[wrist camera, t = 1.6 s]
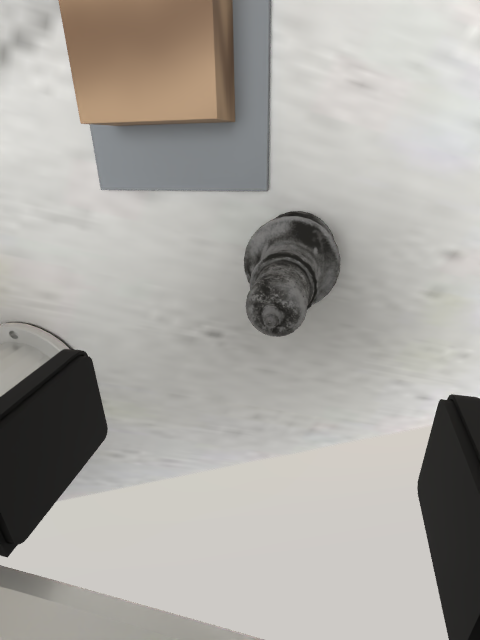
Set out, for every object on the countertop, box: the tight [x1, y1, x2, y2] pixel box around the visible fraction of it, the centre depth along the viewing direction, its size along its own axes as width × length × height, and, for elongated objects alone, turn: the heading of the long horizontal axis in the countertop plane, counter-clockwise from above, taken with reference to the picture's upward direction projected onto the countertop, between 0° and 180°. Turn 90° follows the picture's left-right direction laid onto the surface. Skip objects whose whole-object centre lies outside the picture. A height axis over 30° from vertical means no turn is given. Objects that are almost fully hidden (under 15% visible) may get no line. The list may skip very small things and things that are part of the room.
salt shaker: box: [244, 211, 340, 336], centre depth 21 cm, size 6×6×12 cm
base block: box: [59, 0, 235, 126], centre depth 20 cm, size 8×8×4 cm
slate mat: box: [90, 0, 271, 191], centre depth 22 cm, size 16×12×1 cm
